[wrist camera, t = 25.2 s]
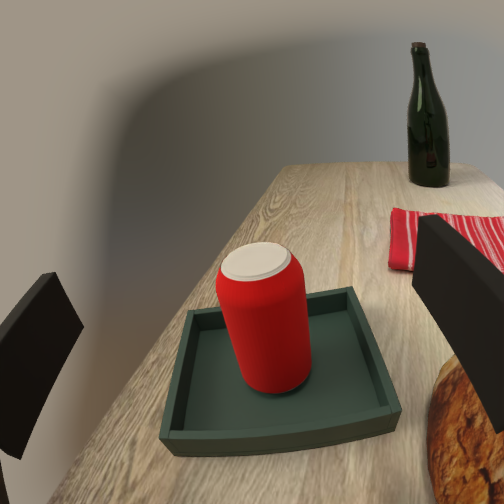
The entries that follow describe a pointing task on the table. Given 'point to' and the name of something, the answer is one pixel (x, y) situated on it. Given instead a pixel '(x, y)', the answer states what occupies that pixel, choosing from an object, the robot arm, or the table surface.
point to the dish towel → (471, 227)
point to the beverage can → (266, 315)
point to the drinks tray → (281, 404)
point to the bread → (462, 443)
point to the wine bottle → (427, 125)
